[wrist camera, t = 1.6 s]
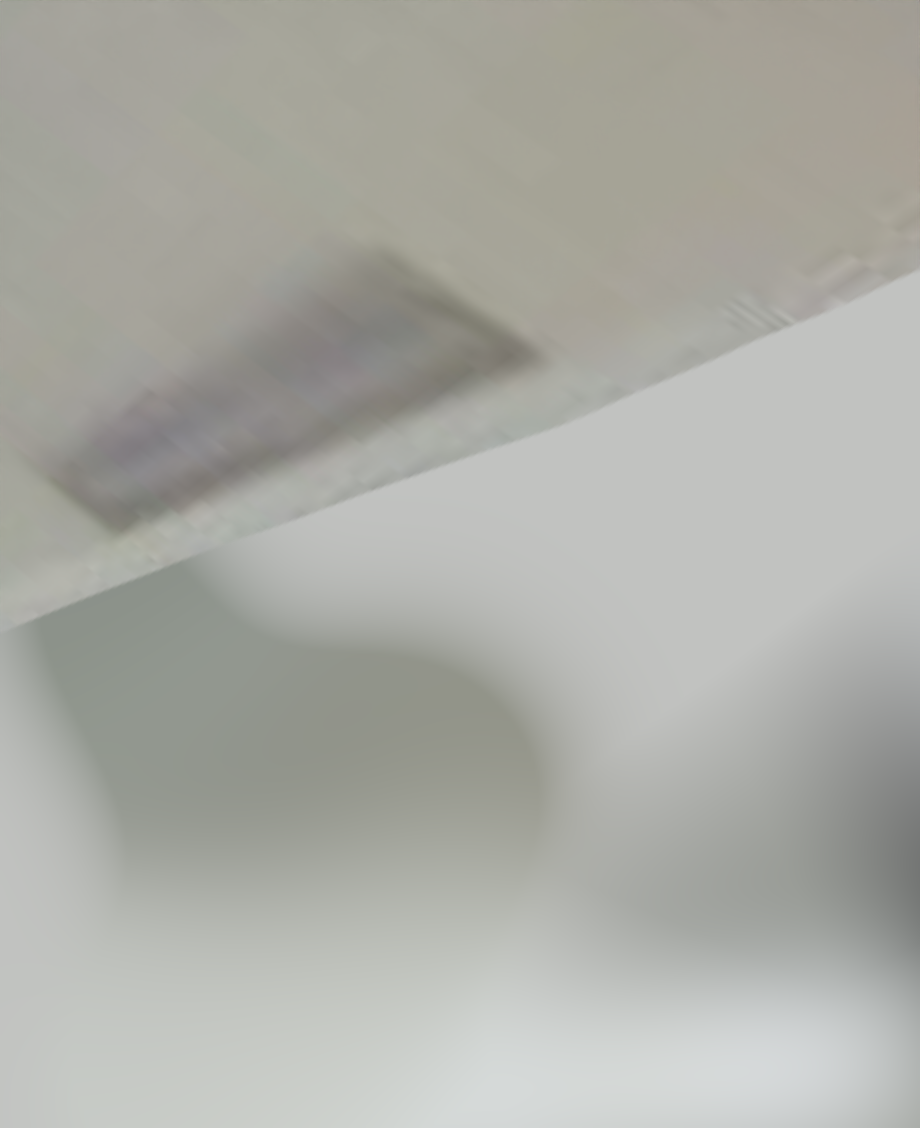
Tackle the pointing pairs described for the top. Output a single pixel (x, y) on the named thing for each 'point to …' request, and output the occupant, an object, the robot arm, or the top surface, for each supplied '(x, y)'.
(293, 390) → the top surface
